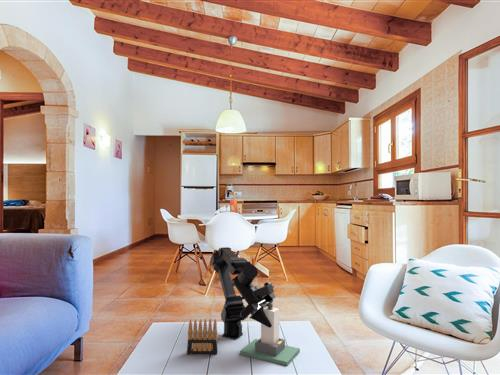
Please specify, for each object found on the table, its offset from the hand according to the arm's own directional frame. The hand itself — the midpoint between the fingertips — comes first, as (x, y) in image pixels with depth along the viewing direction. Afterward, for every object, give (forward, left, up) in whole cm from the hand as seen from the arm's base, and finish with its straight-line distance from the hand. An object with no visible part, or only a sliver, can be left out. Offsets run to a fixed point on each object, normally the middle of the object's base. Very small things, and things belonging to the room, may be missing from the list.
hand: (273, 324), depth 118 cm
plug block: (-1, 0, -7) cm, 7 cm away
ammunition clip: (-22, -12, -10) cm, 27 cm away
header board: (-1, 0, -10) cm, 10 cm away
